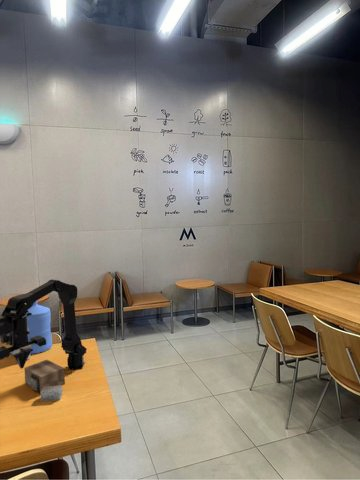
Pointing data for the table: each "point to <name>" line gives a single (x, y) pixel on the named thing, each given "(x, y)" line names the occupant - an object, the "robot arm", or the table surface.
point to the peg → (34, 383)
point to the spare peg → (51, 393)
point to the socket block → (45, 374)
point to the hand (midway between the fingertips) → (21, 368)
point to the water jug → (39, 326)
